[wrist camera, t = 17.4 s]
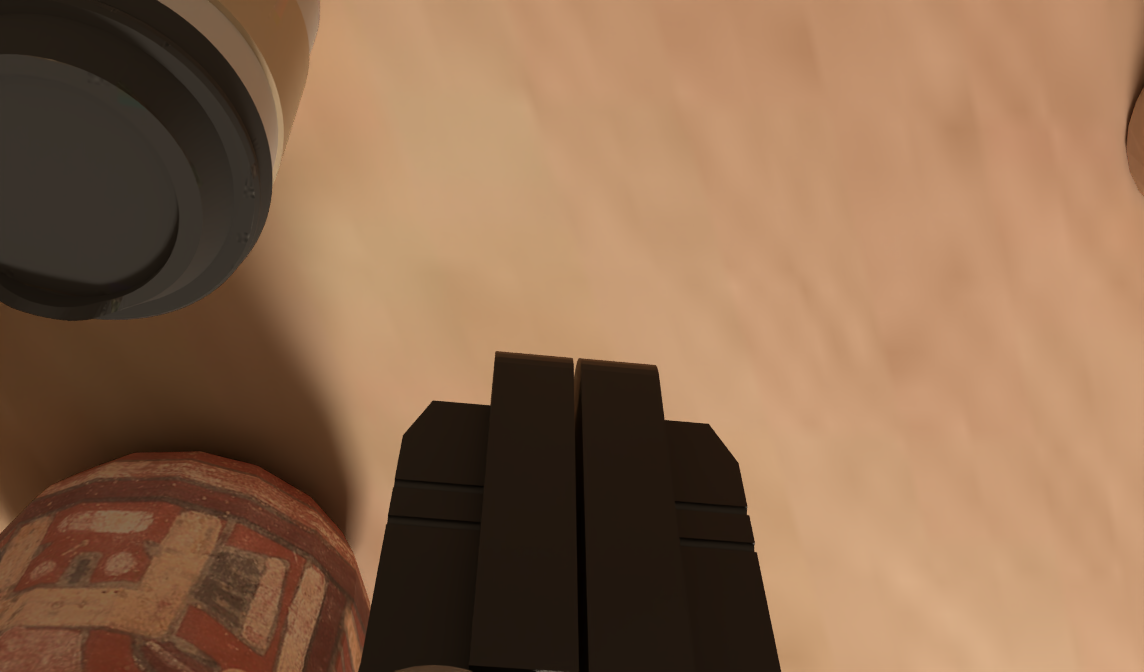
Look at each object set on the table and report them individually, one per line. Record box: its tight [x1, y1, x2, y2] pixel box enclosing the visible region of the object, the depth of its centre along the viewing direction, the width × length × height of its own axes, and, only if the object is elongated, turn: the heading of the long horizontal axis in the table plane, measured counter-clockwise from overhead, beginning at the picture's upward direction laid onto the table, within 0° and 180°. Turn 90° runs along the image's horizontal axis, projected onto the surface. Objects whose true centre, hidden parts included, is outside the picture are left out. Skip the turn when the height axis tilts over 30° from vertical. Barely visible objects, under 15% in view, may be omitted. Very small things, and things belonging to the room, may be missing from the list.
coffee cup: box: [0, 0, 320, 321], centre depth 31 cm, size 9×9×15 cm
